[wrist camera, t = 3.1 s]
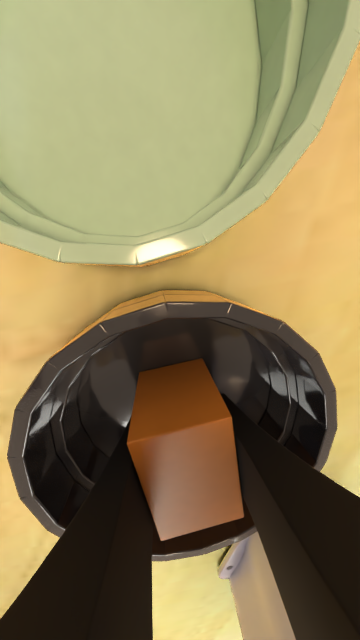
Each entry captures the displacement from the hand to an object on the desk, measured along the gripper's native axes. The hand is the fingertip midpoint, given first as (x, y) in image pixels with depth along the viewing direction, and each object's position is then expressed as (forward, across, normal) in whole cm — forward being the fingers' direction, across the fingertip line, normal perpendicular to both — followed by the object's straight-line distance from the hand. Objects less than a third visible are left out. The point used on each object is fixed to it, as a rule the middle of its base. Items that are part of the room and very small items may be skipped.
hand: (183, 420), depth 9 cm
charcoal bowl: (+2, 0, 0) cm, 2 cm away
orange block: (+1, 0, 0) cm, 1 cm away
